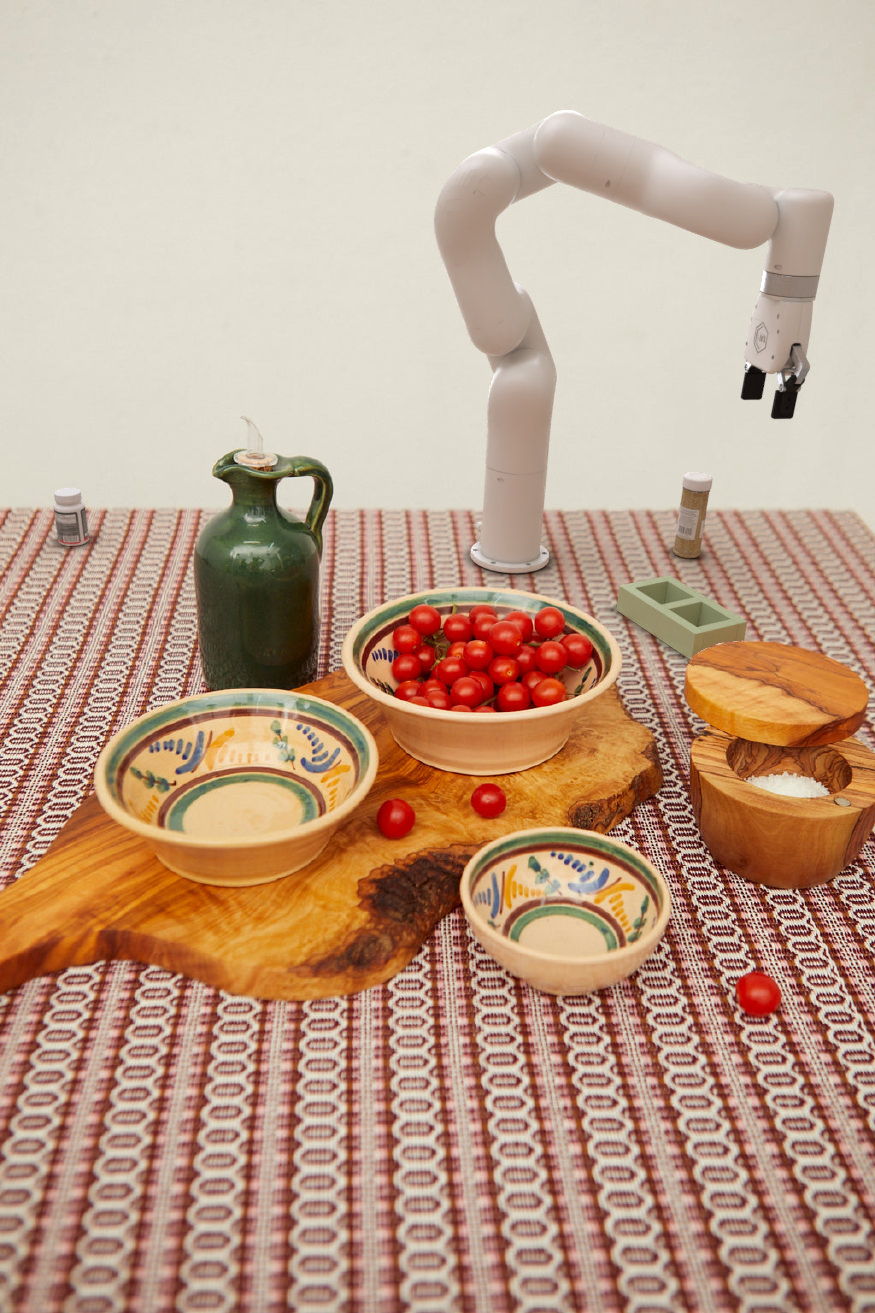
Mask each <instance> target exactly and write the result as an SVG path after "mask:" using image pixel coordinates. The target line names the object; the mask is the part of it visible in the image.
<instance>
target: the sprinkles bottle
mask: <svg viewBox="0 0 875 1313" xmlns="http://www.w3.org/2000/svg"><path fill="white" fill-rule="evenodd" d="M681 485H682V493H681V498H680V503H679V507H678V516H677V521H676V522H677V523H676V528H675V539H674V545H673V548H672V552H673V554H674V555H676V556H678V557H680V558H684V559H694V558H699V557H700V556H701V553H702V552H701V548H702V542H703V536H704V531H705V525H706V519H707V510H708V505H709V504H708V503H709V496H710V492H711V489H712V486H713V477H712V475H710V474H709V473H705V472H699V471H688V472H686V473H684V475H683V478H682V484H681Z"/></svg>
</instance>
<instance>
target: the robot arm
mask: <svg viewBox="0 0 875 1313" xmlns="http://www.w3.org/2000/svg"><path fill="white" fill-rule="evenodd" d="M557 183H561V184H563V185H566V186H568V187H571V188H574V189H576V190H579V191H582V192H585V193H589V194H591V195H594V196H596V197H599V198H602V199H604V200H608V201H610V202H612V203H614V204H617V205H620V206H622V207H625V208H628V209H630V210H633V211H635V212H638V213H640V214H641V215H644V216H646V217H650V218H653V219H657V220H660V221H662V222H664V223H668V224H670V225H672V226H675V227H678V228H680V229H682V230H685V231H687V232H690V233H692V234H695V235H698V236H700V237H703V238H706V239H709V240H711V241H714V242H716V243H719V244H721V245H724V246H726V247H727V246H728V247H730V248H733V249H736V250H742V251H743V250H753V249H756V248H758V247H760V246H762V245H764V244H765V243H767V242H768V243H767V248H766V255H765V260H764V266H763V271H762V272H763V273H762V278H761V282H760V288H759V293H758V295H757V298H756V300H755V304H754V306H753V311H752V314H751V318H750V322H749V326H748V330H747V336H746V337H745V344H744V349H743V358H744V360H745V364H744V366H743V367H744V368H743V370H744V376H743V382H742V388H741V392H740V399H741V400H743V401H760V400H762V399H763V395H764V389H765V383H766V380H767V379H766V378H767V374H769V375H775V374H776V378H777V386H778V389H775V391H774V396H773V403H772V405H771V406H772V407H771V412H770V419H773V420H791V419H793V418H794V415H795V409H796V404H797V399H798V394H799V392H801V390H802V386H803V384H804V383H805V381H806V377H807V375H808V373H809V371H810V370H811V365H810V362H809V359H808V358H807V354H808V349H809V344H810V337H811V336H810V335H811V330H812V322H813V310H814V309H813V308H814V307H813V306H814V301H815V300H816V297H817V292H818V287H819V283H820V277H821V271H822V268H823V263H824V258H825V253H826V248H827V243H828V238H829V234H830V228H831V224H832V218H833V213H834V208H835V198H834V196H833V194H832V193H831V192H829V191H827V190H823V189H818V188H808V187H807V188H806V187H789V188H779V187H772V186H768V185H763V184H758V183H754V182H747V181H746V182H739V181H737V180H734V179H731V178H728V177H726V176H723V175H720V174H718V173H715V172H713V171H710V170H708V169H705V168H703V167H700V166H698V165H696V164H695V163H692V162H690V161H688V160H686V159H685V158H683V157H681V156H679V155H678V154H677V153H675V152H674V151H672V150H671V149H669V148H667V147H666V146H663V145H662V144H660V143H657V142H654V141H651V140H648V139H645V138H642V137H639V136H637V135H635V134H632V133H629V132H625V131H623V130H621V129H618V128H615V127H613V126H610V125H608V124H605V123H602V122H599V121H596V120H594V119H591V118H589V117H586V116H585V115H584V114H582V113H580V112H578V111H576V110H571V109H564V110H558V111H555V112H554V113H551V114H550V115H548V116H547V117H545V118H543V119H541V120H539V121H537V122H536V123H534V124H531V126H528V127H527V128H524V129H522V130H521V131H518V132H515V133H514V134H511V135H509V136H508V137H506V138H504V139H501V140H499V141H498V142H495V143H493V144H491V145H489V146H487V147H485V148H482V149H480V150H478V151H476V152H473V153H472V154H470V155H469V156H467V157H466V158H465V159H463V160H462V161H461V162H460V164H458V165H457V166H456V168H455V169H454V170H453V171H452V173H451V174H450V175H449V177H448V178H447V179H446V181H445V183H444V185H443V186H442V188H441V189H440V192H439V193H438V196H437V199H436V202H435V206H434V213H433V234H434V240H435V243H436V244H435V245H436V247H437V250H438V253H439V254H438V255H439V258H440V259H441V263H442V265H443V268H444V270H445V274H446V275H447V280H448V282H449V285H450V288H451V291H452V294H453V296H454V299H455V303H456V304H457V307H458V310H459V313H460V315H461V318H462V321H463V325H464V328H465V330H466V334H467V336H468V338H469V340H470V342H471V343H472V344H473V346H474V347H475V348H476V349H477V350H479V351H480V352H481V353H483V354H484V355H486V358H487V360H488V363H489V366H490V368H491V370H492V374H493V377H492V379H491V382H490V384H489V388H488V395H487V405H486V421H487V422H486V445H485V446H486V447H485V471H484V472H485V473H484V486H483V503H482V520H481V521H477V522H476V523H475V525H474V528H475V529H476V530H477V531H478V532H480V533H479V541H476V542H475V543H474V544H472V546H471V548H470V560H472V562H473V563H475V564H476V565H478V566H480V567H481V568H484V569H486V570H489V571H493V572H498V573H505V574H526V573H533V572H535V571H539V570H541V569H543V568H545V566H547V565H548V564H549V561H550V551H549V550H548V548H546V547H545V546H544V545H543V544H542V531H543V521H544V511H545V499H546V498H545V497H546V487H547V478H548V462H549V452H550V441H551V428H552V419H553V409H554V401H555V394H556V386H557V381H558V380H557V377H558V376H557V374H558V373H557V368H556V365H555V361H554V358H553V356H552V353H551V350H550V347H549V344H548V341H547V339H546V335H545V333H544V330H543V327H542V324H541V321H540V319H539V316H538V313H537V310H536V308H535V305H534V302H533V300H532V298H531V296H530V294H529V293H528V292H527V290H526V289H525V288H524V287H523V286H522V285H521V284H519V282H517V281H515V280H513V278H512V276H511V273H510V269H509V268H508V264H507V261H506V258H505V255H504V254H505V253H504V252H503V248H502V246H501V244H500V242H499V239H498V236H497V234H496V222H497V218H498V217H499V216H500V215H502V213H504V211H506V210H507V209H508V208H509V207H510V206H512V205H513V204H516V203H518V202H519V201H521V200H523V199H526V198H528V197H530V196H532V195H534V194H537V193H539V192H541V191H543V190H545V189H547V188H549V187H551V186H553V185H556V184H557ZM786 376H787V377H788V376H789V377H788V378H787V379H786Z"/></svg>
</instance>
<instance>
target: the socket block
mask: <svg viewBox="0 0 875 1313" xmlns="http://www.w3.org/2000/svg"><path fill="white" fill-rule="evenodd" d="M617 594H618V595H617V603H616V611H617V612H618V613H620V614H621V615H623V616H624V617H625V618H627V619H629V621H632V622H633V623H635V624H636V625H638V626H639V627H641V629H643V630H645V631H647V633H649V634H651V635H653V636H654V637H655V638H657V639H658V640H660V641H661V642H663V643H664V644H666V645H668V646H669V647H671V648H672V649H673V650H675V651H676V652H677V653H679V654H681V655H682V656H684V657H685V658H687V659H688V660H690V658H691V657H692V656H693V655H694V654H697V653H698V652H700V651H701V650H703V649H705V648H708V647H711V646H713V645H714V644H718V643H722V642H731V641H742V640H744V641H745V637H746V632H747V626H748V621H747V620H746V619H744V618H742V617H740V616H739V615H737V614H736V613H734V612H732V611H731V610H729V609H728V608H725V607H724V606H723V605H721V604H719V603H717V602H716V601H714V600H712V599H710V598H709V597H707V596H706V595H704V594H702V593H700V592H698V591H697V590H695V589H693V588H692V587H690V586H688V585H687V584H685V583H683V582H682V581H680V580H678V579H677V578H675V577H673V576H672V575H670V574H668V575H664V576H663V575H662V576H657V577H653V578H649V579H644V580H639V581H634V582H630V583H624V584H620V585H619V586H618V593H617Z"/></svg>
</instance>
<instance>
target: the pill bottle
mask: <svg viewBox="0 0 875 1313" xmlns="http://www.w3.org/2000/svg"><path fill="white" fill-rule="evenodd" d="M53 495H54V496H53V497H54V501H55V502H54V504H53V513H54V520H55V527H56V534H57V540H58V543H59V544H60V545H62V546H65V547H78V546H81V545H85V544H86V543H87V542H89V540H90V535H89V527H88V519H87V518H88V517H87V510H86V505H85V502H84V501H83V500H82V498H83V496H82V491H81V489H79V488H77V487H62V488H58V489H56V490H54V492H53Z"/></svg>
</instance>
